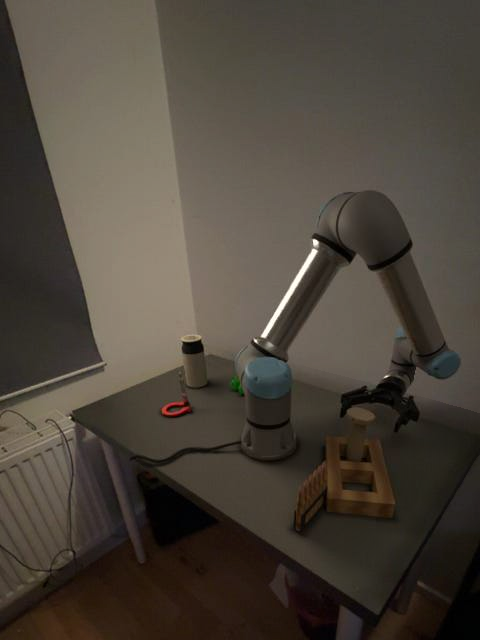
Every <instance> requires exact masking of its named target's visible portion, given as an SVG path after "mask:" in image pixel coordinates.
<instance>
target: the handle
mask: <svg viewBox="0 0 480 640" xmlns="http://www.w3.org/2000/svg"><path fill="white" fill-rule="evenodd" d="M345 417H346V418H347V420H349V421H350V423H351V425H350V431H349V435H348V438H349V439H348V444H347V450H346V456H345V458H346V459H345V461H352V462H362V459H363V458H362V456H363V452H364V444H365V439H366V432H367V426H370V425H372V424H374V423H375V420H376V415H375V414H374V413H373V412H372V411H370V410H369V409H368V410H367V409H365V408H362V407H357V406H355V407H354V406H352V408H350V409H348V410H347V413H346V415H345Z"/></svg>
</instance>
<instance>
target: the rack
mask: <svg viewBox="0 0 480 640" xmlns="http://www.w3.org/2000/svg"><path fill="white" fill-rule="evenodd" d="M325 437H326V438H325V448H324V452H325V455H324V456H325V461H326V464H327V485H326V486H327V487H328V489H327V500H326V513H327V512H328V513H337V514H346V515H358V516H365V517H376V518H385V519H393V517H394V512H395V508H396V501H395V496H394V493H393V487H392V485H391V481H390V477H389V472H388V468H387V464H386V460H385V457H384V454H383V453H384V452H383V450H382V449H383V448H382V445H381V441H380V439H377V438H365V444H364V452H363V456H362V459H365V460H366V462H363V461H361V462H352V461H346V460H341V457H346V450H347V444H348V439H349V437H346V436H331V435H330V436H329V435H326V436H325ZM343 483H352V484H364V485H370V486H371V491H362V490H351V489H343Z"/></svg>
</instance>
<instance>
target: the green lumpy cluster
mask: <svg viewBox="0 0 480 640" xmlns="http://www.w3.org/2000/svg"><path fill="white" fill-rule="evenodd" d="M231 385H232V386H231ZM229 387H230V390H232V391H235V392H236V391H238V394H239V395H241V396H242V395H245V394H244V392H243V389H242V387H241V384H240V381H239V380H238V378H237V375H236V374H234V375H233V376H232V380H231V382H230V383H229Z"/></svg>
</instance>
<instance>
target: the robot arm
mask: <svg viewBox="0 0 480 640" xmlns="http://www.w3.org/2000/svg"><path fill="white" fill-rule="evenodd" d="M315 224H316V229H315V231H314V232H313V234H312V235H311V238H310V239H309V242H310V244H309V245H310V250H309V253H308V255H307V257H306V258H305V260H304V261H303V263H302V265H301V267H300V268H299V270H298V272H297V273H296V275H295V276H294V278H293V280H292V281H291V283H290V285H289V286H288V289H287V290H286V292H285V293H284V295H283V297H282V299H281V300H280V301H279V304H278V305H277V307H276V308H275V310H274V312H273V314H272V316H271V317H270V319H269V321H268V323H267V324H266V326H265V327H264V329H263V331H262V333H261V334H258V335H255V336H253V337H252V338H251V340H250V342H249V344H248V345H246V346H244V347H243V348H242V349H240V351H239V352H238V354H237V355H236V358H235V360H234V361H235V362H234V368H235V369H234V370H235V375H237V378H238V380H239V381H240V384H241V387H242V389H243V392H244V394H243V395H244V398H245V399H244V400H245V416H246V422H245V424H244V428H243V430H242V434H241V437H240V440H237V441H231V442H228V443H223V444H219V445H216V446H212V447H211V446H210V447H199V446H190V447H184V448H181V449H179V450H177V451H176V452H174V453H172V454H171V455H169V456H168V457H165V458H161V459H155V458H151V457H148V456H146V455H142V454H133V455H132V456H130V457H129V461H134V459H143V460H145V461H147V462H150V463H155V464H161V463H166V462H169V461H170V460H172V459H174V458H175V457H177V456H179V455H180V454H182V453H185V452H189V451H200V452H211V451H217V450H220V449H224V448H228V447H231V446H236V445H240V448H241V450H242V452H243V453H244V454H245V455H246V456H248V457H250V458H252V459H253V460H256V461H257V460H258V461H262V462H273V461H274V462H275V461H279V460H280V461H281V460H283V459H286V458H288V457H290V456H291V455H293V453H294V452H295V451H296V449H297V432H296V429H294V427H293V425H292V422H291V415H292V414H291V411H292V386H293V375H292V368H291V367H290V365H289V364H288V361H289V359H290V356H289V349H290V348H291V347H292V345H293V343H294V342H295V340H296V339H297V337H298V335H299V334H300V332H301V331H302V329H303V327H304V326H305V324H306V323H307V321H308V320H309V318H310V317H311V315H312V314H313V312H314V310H315V309H316V307H317V306H318V304H319V302H320V301H321V299H322V297H323V296H324V295H325V293H326V292H327V290H328V288H329V287H330V285H331V284H332V282H333V280H334V279H335V277H336V276H337V274H338V273H339V271H340V269H342V268H345V267H349V266H350V265H351V263H352V262H353V260H354V259H355V257H356V256H357V255H358V256H359V257H360V258H362V260H363V261H364V263H365V265H366V267H367V269H368V271H370V272H374V273H375V274H376V276H377V278H378V280H379V282H380V284H381V286H382V288H383V291H384V293H385V295H386V297H387V299H388V301H389V304H390V306H391V308H392V309H393V312H394V314H395V316H396V318H397V319H398V322H399V324H400V325H398V327H397V330H396V334H395V337H394V343H393V348H392V355H391V356H392V357H391V359H390V363H389V364H390V365H389V369H388V372H387V373H386V374H385V376H384V377H382V379H381V380H380V381H379V382H378V384H376V386H375V387H374V388H372V389H370V388H368V385H362V386H361V387H360V388H359V387H358V388H357V389H354V390H350V391H347V392H344V393H341V395H340V404H341V408H340V412H339V418H340V419H343V418H345V417H346V413H347V410H348V409H350V408H353V406H356V405H362V404H371V405H372V404H382V405H385V406H389V407H390V408H391V409H392V410H395V412H397V413H398V415H399V416H398V418H397V420H396V421H395V424H394V427H393V428H394V429H393V433H396V434H397V433H398V432H399V430H400V428H401V427H402V426H407V425H408V423H409V421H413V422H415V423H418V422H419V418H420V414H421V411H420V410H419V408H418V406H417V404H416V402H415V400H414V398H415V397H414V395H408V396H407V397H405V396H404V395H405V394H406V393H407V391H408V390H409V389H410V387H411V385H412V383H413V382H414V381H415V380H414V375H415V370H416V367H418V369H420V370H421V371H423V372H424V373H426V374H427V375H428V376H429V377H433V378H435V379H437V380H440V381H441V380H447V379H449V378H451V377H452V376H454V375H455V374H456V373H457V372H458V371H459V369H460V367H461V363H462V360H461V359H462V358H461V356H460V355H459V354H458V353H457V352H455V351H454V349H450V348H449V346H448V344H447V341H446V339H445V337H444V334H443V331H442V328H441V326H440V324H439V321H438V319H437V317H436V313H435V311H434V309H433V306H432V304H431V301H430V298H429V296H428V294H427V291H426V288H425V286H424V284H423V280H422V279H421V276H420V273H419V271H418V269H417V266H416V263H415V261H414V259H413V258H414V257H413V256H412V253H411V251H412V249H413V247H414V243H413V240H412V237H411V235H410V233H409V231H408V228H407V226H406V224H405V221H404V219H403V217H402V215H401V213H400V211H399V210H398V208H397V206H396V205H395V204H394V202H393V201H392V200H391V198H389V197H388V196H387V195H386V194H384V193H383V192H381V191H377V190H374V189H373V190H372V189H368V190H362V191H356V192H355V191H346V192H342V193H340V194H337V195H334V196H333V197H331V198H330V199H329V200H328V201H326V202H325V204H323V206H322V207H321V209H320V211H319V213H318V215H317V219H316V223H315ZM413 380H414V381H413Z"/></svg>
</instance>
